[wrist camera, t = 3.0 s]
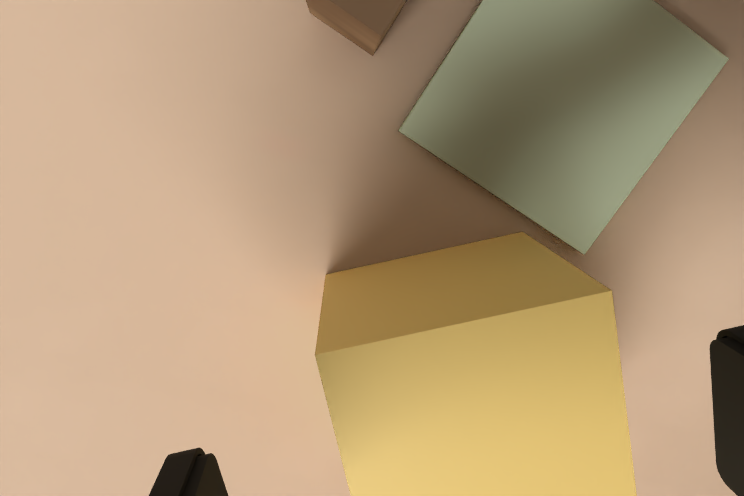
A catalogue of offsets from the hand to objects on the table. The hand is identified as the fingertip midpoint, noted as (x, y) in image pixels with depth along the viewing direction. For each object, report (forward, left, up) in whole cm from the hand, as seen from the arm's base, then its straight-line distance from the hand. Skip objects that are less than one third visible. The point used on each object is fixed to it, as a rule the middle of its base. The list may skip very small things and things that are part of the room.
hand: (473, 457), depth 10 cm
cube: (-1, +1, -7) cm, 7 cm away
